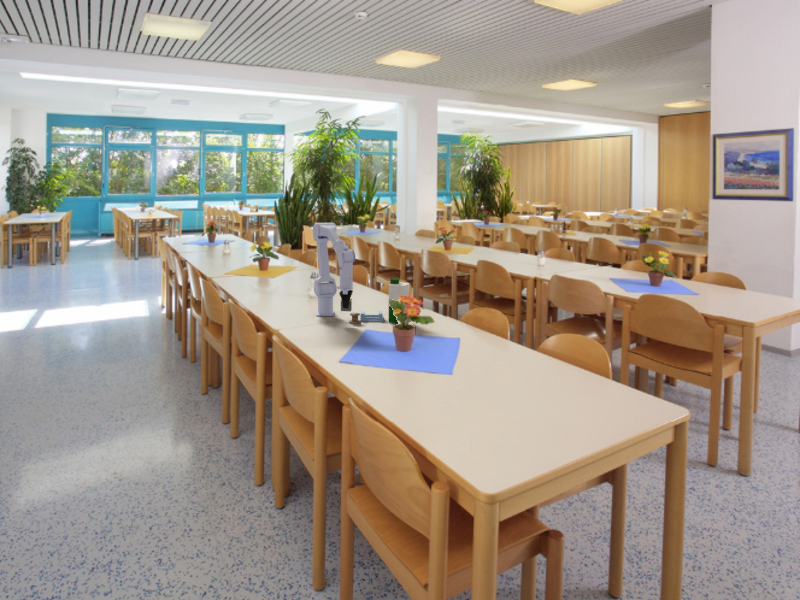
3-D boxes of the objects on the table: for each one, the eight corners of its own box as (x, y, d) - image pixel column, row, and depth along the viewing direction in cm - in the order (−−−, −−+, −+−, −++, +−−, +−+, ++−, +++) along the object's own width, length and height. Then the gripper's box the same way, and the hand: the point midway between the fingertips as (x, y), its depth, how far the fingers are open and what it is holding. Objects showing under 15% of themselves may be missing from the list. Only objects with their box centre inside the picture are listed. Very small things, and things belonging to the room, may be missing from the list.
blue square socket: (360, 317, 269) (360, 310, 268) (383, 317, 269) (383, 310, 269) (359, 321, 260) (359, 314, 259) (383, 321, 260) (383, 314, 260)
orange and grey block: (341, 309, 255) (341, 298, 254) (351, 310, 254) (351, 298, 253) (340, 311, 252) (340, 299, 251) (350, 311, 252) (350, 300, 251)
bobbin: (349, 321, 260) (349, 312, 260) (360, 321, 261) (360, 312, 260) (348, 323, 255) (348, 314, 255) (360, 324, 256) (360, 315, 255)
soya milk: (392, 318, 267) (393, 277, 263) (410, 320, 264) (411, 278, 260) (386, 322, 259) (386, 279, 255) (404, 324, 256) (405, 281, 252)
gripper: (338, 274, 257) (338, 303, 260) (335, 279, 243) (335, 310, 246) (353, 274, 257) (353, 303, 260) (352, 280, 243) (352, 310, 246)
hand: (346, 307), depth 253 cm, fingers closed on orange and grey block, 3 cm apart
